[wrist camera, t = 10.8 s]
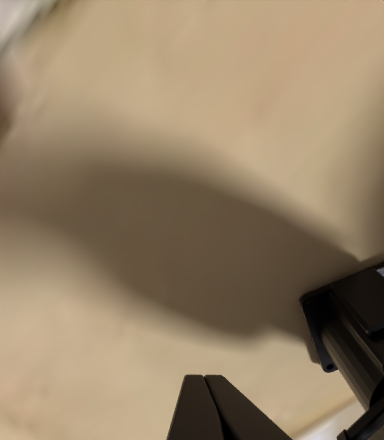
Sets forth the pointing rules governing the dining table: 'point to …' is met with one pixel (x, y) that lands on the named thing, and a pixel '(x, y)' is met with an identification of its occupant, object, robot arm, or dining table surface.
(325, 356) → the robot arm
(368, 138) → the dining table surface
